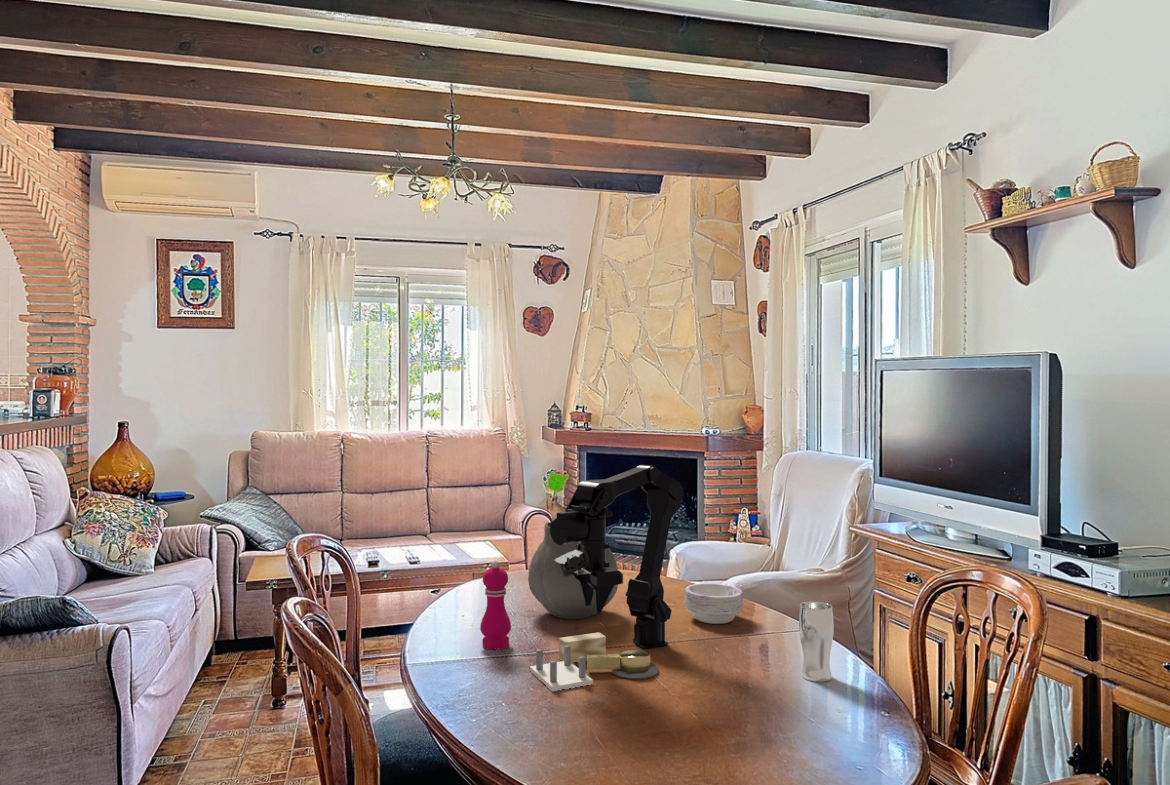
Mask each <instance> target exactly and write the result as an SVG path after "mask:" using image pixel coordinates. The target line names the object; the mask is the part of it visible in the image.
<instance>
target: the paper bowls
mask: <svg viewBox="0 0 1170 785" xmlns="http://www.w3.org/2000/svg"><path fill="white" fill-rule="evenodd" d="M684 607H685V609H687V610H689V611H690V612H691V614H692V616H693V618H694V619H695V620H697V621H699V622H701V623H705V624H710V625H711V624H713V625H719V624H720V625H721V624H723V625H724V624H727V623H728V624H729V623H730V622H732V621H733V620H734V618H735V617H736V615H738V614H740V613H741V612H742V611H743V610H744V592H743V590H742V589H740V588H739V587H736V586H732V585H727V584H722V583H705V582H704V583H696V584H691V585H688V586H686V587H685V588H684Z"/></svg>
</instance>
